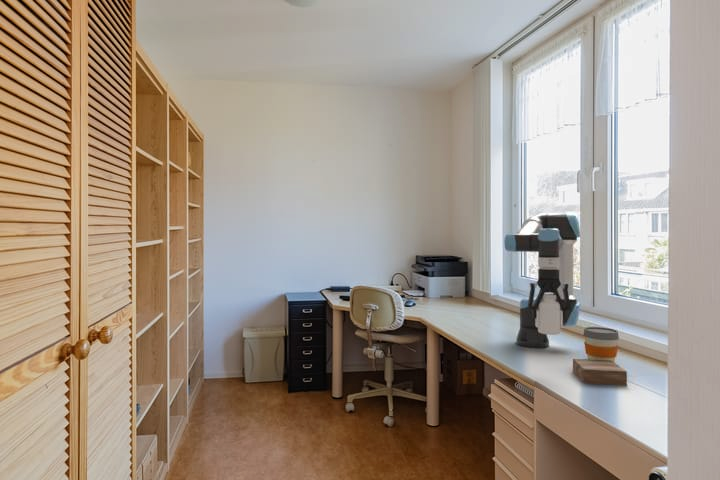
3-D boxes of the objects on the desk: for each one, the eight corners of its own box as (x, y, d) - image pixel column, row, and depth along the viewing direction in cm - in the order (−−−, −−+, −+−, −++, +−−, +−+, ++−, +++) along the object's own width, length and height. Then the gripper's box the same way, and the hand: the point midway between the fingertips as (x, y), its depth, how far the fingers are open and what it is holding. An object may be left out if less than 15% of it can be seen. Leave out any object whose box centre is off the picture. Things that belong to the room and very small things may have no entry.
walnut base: (572, 371, 168) (572, 358, 168) (611, 373, 166) (611, 360, 166) (584, 383, 155) (584, 369, 155) (626, 385, 152) (626, 371, 152)
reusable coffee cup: (606, 373, 166) (606, 334, 166) (576, 364, 177) (576, 328, 177) (625, 368, 172) (625, 331, 172) (595, 360, 183) (595, 325, 183)
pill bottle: (558, 331, 168) (558, 293, 168) (561, 335, 161) (561, 296, 160) (537, 330, 171) (537, 292, 171) (538, 334, 163) (538, 295, 163)
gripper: (522, 268, 164) (522, 328, 164) (580, 269, 160) (580, 330, 160) (518, 267, 171) (519, 324, 171) (574, 267, 167) (574, 325, 167)
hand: (548, 327), depth 166 cm, fingers closed on pill bottle, 8 cm apart
